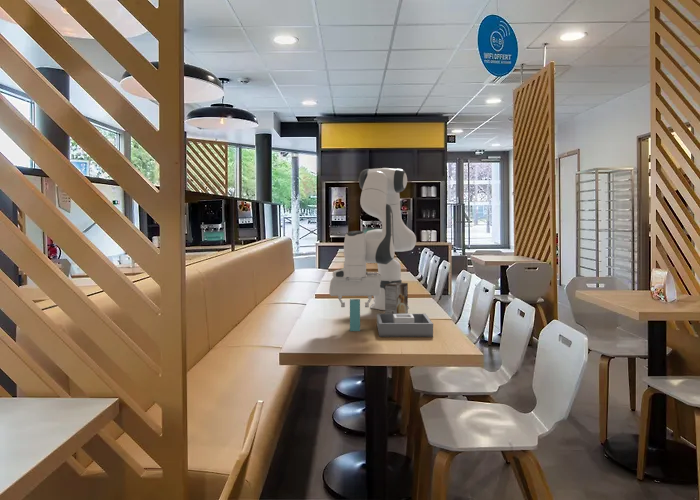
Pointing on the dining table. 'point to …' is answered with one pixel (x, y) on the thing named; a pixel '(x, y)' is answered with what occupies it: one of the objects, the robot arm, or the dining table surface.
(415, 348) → the dining table surface
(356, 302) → the connector peg
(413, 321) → the inlet box
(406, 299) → the coffee box
